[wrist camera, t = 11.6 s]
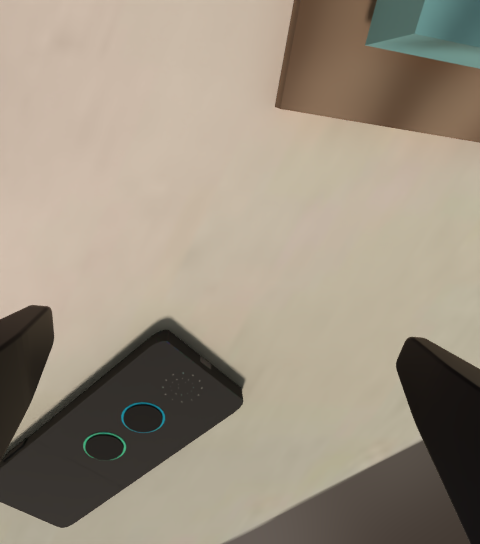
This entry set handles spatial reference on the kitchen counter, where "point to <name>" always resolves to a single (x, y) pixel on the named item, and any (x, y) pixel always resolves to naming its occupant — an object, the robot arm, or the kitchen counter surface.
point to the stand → (371, 75)
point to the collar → (428, 29)
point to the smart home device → (117, 431)
